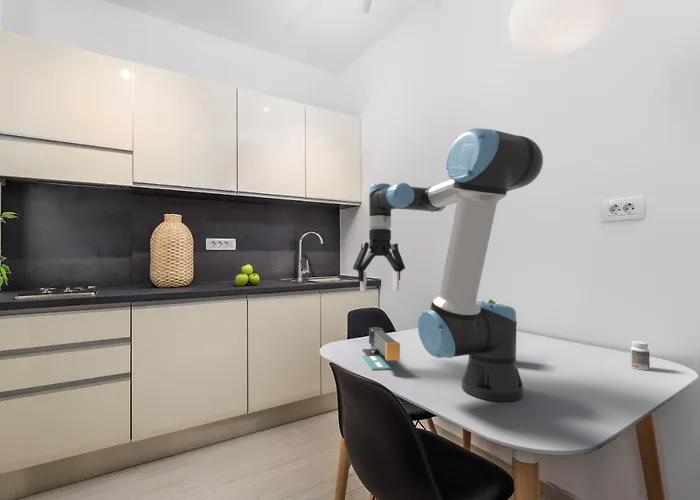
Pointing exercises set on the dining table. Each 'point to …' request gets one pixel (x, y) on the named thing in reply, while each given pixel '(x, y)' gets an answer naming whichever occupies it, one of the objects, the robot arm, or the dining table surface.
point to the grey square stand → (372, 351)
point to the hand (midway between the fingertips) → (379, 290)
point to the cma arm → (384, 343)
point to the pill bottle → (640, 355)
